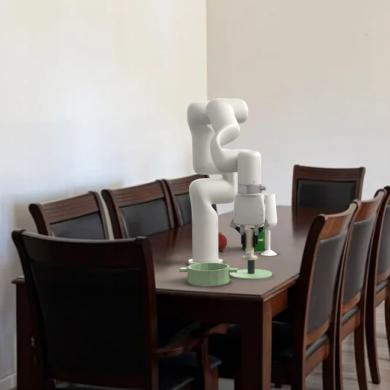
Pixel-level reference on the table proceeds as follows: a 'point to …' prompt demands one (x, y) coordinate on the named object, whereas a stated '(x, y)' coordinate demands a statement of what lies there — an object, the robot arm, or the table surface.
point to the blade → (249, 245)
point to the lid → (251, 272)
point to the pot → (208, 273)
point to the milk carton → (260, 238)
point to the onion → (221, 241)
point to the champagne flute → (270, 219)
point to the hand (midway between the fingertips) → (249, 246)
